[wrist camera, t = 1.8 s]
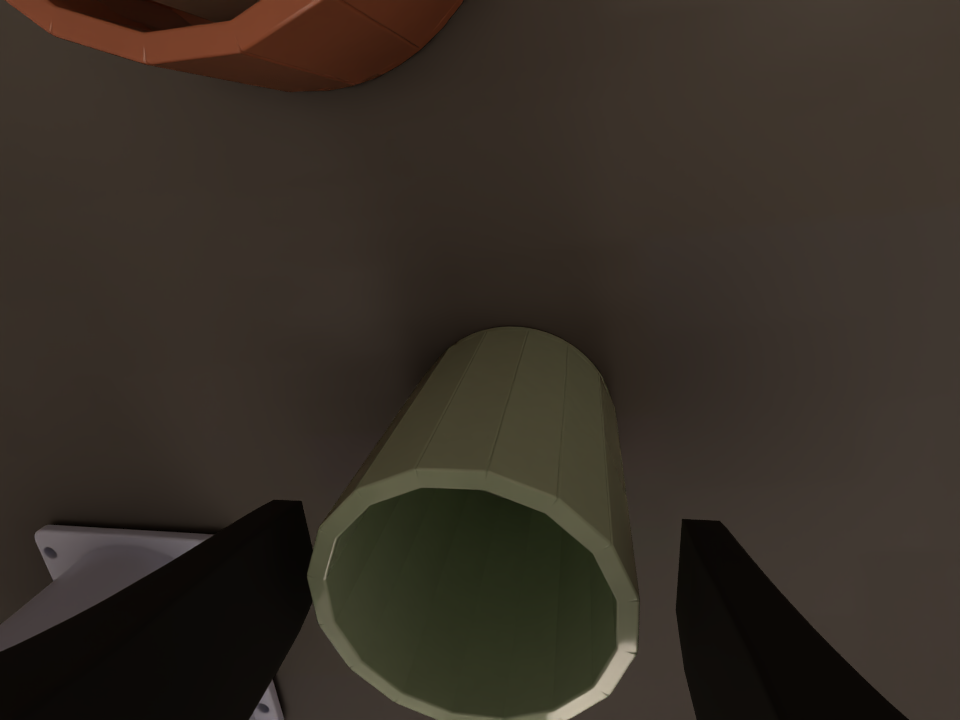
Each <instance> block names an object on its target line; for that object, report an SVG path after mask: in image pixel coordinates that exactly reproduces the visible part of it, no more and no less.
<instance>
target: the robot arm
mask: <svg viewBox="0 0 960 720" xmlns="http://www.w3.org/2000/svg"><path fill="white" fill-rule="evenodd" d="M35 541H36V544H37V546H38V548H39V550H40V553H41V555H42V557H43V559H44V561H45V564H46V566H47V568H48V570H49V573H50V575H51V577H52V579H53V582H52V583H51V584H49V585H48V586H47V587H46V588H45V589H43V590H42V591H41V592H40V593H38V594H37V595H36V596H35V597H34V598H32V599H31V600H30V601H29V602H27V603H26V604H25V605H24V606H23V607H21V608H20V609H19V610H18V611H16V612H15V613H14V614H13V615H12V616H10V617H9V618H8V619H7V620H5V621H4V622H3V623H2V624H1V625H0V720H284V717H283V713H282V710H281V706H280V703H279V699H278V696H277V693H276V689H275V686H274V682H273V678H274V676H275V674H276V673H277V671H278V669H279V667H280V666H281V664H282V662H283V660H284V659H285V657H286V655H287V653H288V651H289V650H290V648H291V646H292V644H293V643H294V641H295V639H296V637H297V635H298V634H299V632H300V629H301V627H302V625H303V623H304V620H305V618H306V616H307V613H308V611H309V609H310V606H311V604H312V596H311V592H310V588H309V584H308V580H307V571H308V567H309V563H310V560H311V556H312V552H313V549H312V545H311V540H310V536H309V531H308V527H307V523H306V518H305V514H304V510H303V505H302V501H289V500H273V501H271V502H269V503H267V504H265V505H263V506H261V507H259V508H258V509H256V510H254V511H252V512H251V513H249V514H247V515H246V516H244V517H242V518H241V519H239V520H237V521H236V522H234V523H232V524H231V525H229V526H228V527H226V528H224V529H223V530H221V531H219V532H218V533H216V534H198V533H181V532H164V531H148V530H131V529H114V528H97V527H81V526H64V525H45V526H44V527H42V528H41V529H39V530H38V531H37V532H36V533H35ZM676 615H677V622H678V630H679V637H680V644H681V651H682V657H683V664H684V670H685V675H686V679H687V683H688V687H689V691H690V695H691V699H692V703H693V707H694V711H695V715H696V719H697V720H909V719H908V718H906V717H905V716H904V715H903V714H902V713H901V712H900V711H898V710H897V709H896V708H895V707H894V706H893V705H892V704H890V703H889V702H888V701H887V700H886V699H885V698H884V697H883V696H882V695H881V694H880V693H879V692H878V691H877V690H875V689H874V688H873V687H872V686H871V685H870V684H869V683H868V682H867V681H866V680H865V679H864V678H863V677H862V676H861V675H860V674H859V673H858V672H857V671H856V670H855V669H854V668H853V667H852V666H851V665H850V664H849V663H848V662H847V661H846V660H845V659H844V658H843V657H842V656H841V655H840V654H839V653H838V652H837V651H836V650H835V649H834V648H833V647H832V646H831V645H830V644H829V643H828V642H827V641H826V640H825V639H824V638H823V637H822V636H821V635H820V634H819V633H818V632H817V631H816V630H815V629H814V628H813V627H812V626H811V625H810V624H809V622H808V621H807V620H806V619H805V618H804V617H803V616H802V615H801V614H800V613H799V612H798V610H797V609H796V608H795V607H794V606H793V605H792V604H791V603H790V602H789V601H788V600H787V599H786V597H785V596H784V595H783V594H782V593H781V592H780V591H779V590H778V589H777V587H776V586H775V585H774V584H773V583H772V582H771V581H770V579H769V578H768V577H767V576H766V575H765V574H764V572H763V571H762V570H761V569H760V568H759V567H758V565H757V564H756V563H755V562H754V561H753V560H752V558H751V557H750V556H749V555H748V554H747V552H746V551H745V550H744V549H743V547H742V546H741V545H740V544H739V543H738V541H737V540H736V539H735V538H734V536H733V535H732V534H731V533H730V532H729V530H728V529H727V528H726V527H725V526H724V525H723V524H722V523H721V522H720V521H712V520H691V519H682V528H681V542H680V557H679V571H678V586H677V600H676Z"/></svg>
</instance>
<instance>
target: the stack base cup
mask: <svg viewBox="0 0 960 720" xmlns="http://www.w3.org/2000/svg"><path fill="white" fill-rule="evenodd" d="M5 1H7V2H8V3H9V4H11V5H12V6H13V7H15V8H16V9H17V10H19V11H20V12H21V13H23V14H24V15H25V16H27V17H28V18H29V19H31V20H32V21H34V22H35V23H36V24H38V25H39V26H40V27H42V28H43V29H44V30H46V31H47V32H48V33H50V34H52V35H54V36H55V37H57V38H61V39H64V40H67V41H70V42H74V43H77V44H80V45H84V46H87V47H90V48H93V49H97V50H100V51H103V52H106V53H110V54H113V55H116V56H119V57H123V58H126V59H129V60H132V61H136V62H139V63H142V64H145V65H151V66H156V67H161V68H166V69H171V70H176V71H182V72H187V73H192V74H197V75H202V76H207V77H213V78H218V79H223V80H228V81H233V82H239V83H244V84H249V85H254V86H259V87H264V88H270V89H275V90H280V91H285V92H297V91H329V90H334V89H340V88H345V87H350V86H354V85H357V84H360V83H363V82H366V81H368V80H371V79H374V78H377V77H379V76H380V75H382V74H384V73H386V72H388V71H390V70H392V69H393V68H395V67H397V66H399V65H400V64H402V63H403V62H404V61H406V60H407V59H409V58H410V57H411V56H413V55H414V54H415V53H417V52H418V51H419V50H421V49H422V48H423V47H424V46H425V45H426V44H427V43H428V42H429V41H430V40H431V39H432V38H433V37H434V36H435V35H436V34H437V33H438V32H439V31H440V30H441V29H442V28H443V27H444V25H445V24H446V23H447V21H448V20H449V19H450V18H451V16H452V15H453V14H454V13H455V11H456V10H457V9H458V7H459V6H460V5H461V3H462V2H463V0H260V1H259V2H257V3H256V4H254V5H253V6H251V7H250V8H248V9H247V10H245V11H244V12H242V13H241V14H239V15H238V16H236V17H235V18H234V19H232V20H229V21H221V22H212V21H209V20H206V19H204V18H201V17H198V16H195V15H192V14H189V13H186V12H183V11H180V10H177V9H175V8H172V7H169V6H166V5H163V4H160V3H157V2H154V1H151V0H5Z"/></svg>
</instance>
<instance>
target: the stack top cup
mask: <svg viewBox="0 0 960 720" xmlns="http://www.w3.org/2000/svg"><path fill="white" fill-rule="evenodd" d="M151 1H154V2H157V3H160V4H163V5H166V6H169V7H172V8H175V9H177V10H180V11H183V12H186V13H189V14H192V15H195V16H198V17H201V18H204V19H206V20H209V21H212V22H221V21H229V20H232V19H234V18H235V17H236V16H238V15H239V14H241V13H242V12H244V11H245V10H247V9H248V8H250V7H251V6H253V5H254V4H256V3H257V2H259V1H260V0H151Z"/></svg>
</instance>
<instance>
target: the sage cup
mask: <svg viewBox="0 0 960 720" xmlns="http://www.w3.org/2000/svg"><path fill="white" fill-rule="evenodd" d="M307 580H308V584H309V588H310V592H311V596H312V601H313V605H314V609H315V613H316V618H317V622H318V623H319V626H320V628H321V629H322V631H323V632H324V633H325V635H326V636H327V638H328V639H329V640H330V642H331V643H332V645H333V646H334V647H335V649H336V650H337V652H338V653H339V655H340V656H341V657H342V659H343V660H344V662H345V663H346V664H347V666H348V667H350V669H351V670H352V671H354V672H355V673H356V674H358V675H359V676H360V677H361V678H363V679H364V680H365V681H367V682H368V683H369V684H371V685H372V686H373V687H375V688H376V689H377V690H379V691H380V692H381V693H383V694H384V695H385V696H387V697H388V698H389V699H390V700H392V701H393V702H395V701H396V703H397V704H399V705H402V706H404V707H407V708H409V709H412V710H414V711H417V712H419V713H421V714H424V715H426V716H429V717H431V718H434V719H436V720H569V719H571V718H573V717H575V716H576V715H578V714H580V713H581V712H583V711H585V710H587V709H588V708H590V707H592V706H593V705H595V704H597V703H599V702H600V701H602V700H604V699H605V698H607V697H608V696H609V695H611V693H612V692H613V690H614V689H615V687H616V686H617V684H618V683H619V681H620V679H621V678H622V676H623V675H624V673H625V672H626V670H627V669H628V667H629V666H630V664H631V663H632V661H633V660H634V658H635V656H636V655H637V652H638V641H639V615H640V597H639V589H638V581H637V573H636V566H635V558H634V550H633V542H632V535H631V527H630V519H629V511H628V504H627V496H626V488H625V480H624V473H623V465H622V457H621V449H620V442H619V434H618V426H617V419H616V411H615V407H614V405H613V402H612V399H611V395H610V393H609V390H608V387H607V385H606V383H605V381H604V379H603V377H602V376H601V374H600V372H599V371H598V370H597V368H596V367H595V366H594V364H593V363H592V362H591V361H590V360H589V359H588V358H587V357H586V356H585V355H584V354H583V353H582V352H580V351H579V350H578V349H577V348H575V347H574V346H573V345H571V344H569V343H568V342H566V341H564V340H563V339H561V338H559V337H556V336H554V335H552V334H550V333H546V332H543V331H540V330H536V329H531V328H525V327H510V326H508V327H496V328H491V329H486V330H482V331H479V332H476V333H474V334H471V335H469V336H467V337H465V338H463V339H461V340H459V341H458V342H456V343H455V344H454V345H452V346H451V347H449V348H448V349H447V350H446V351H445V352H444V353H443V354H442V355H441V356H440V357H439V358H438V360H437V361H436V362H435V363H434V365H433V366H432V367H431V368H430V369H429V370H428V371H427V372H426V374H425V375H424V377H423V378H422V379H421V381H420V382H419V384H418V385H417V387H416V388H415V390H414V391H413V392H412V394H411V395H410V397H409V398H408V400H407V401H406V402H405V404H404V405H403V407H402V408H401V410H400V411H399V413H398V414H397V415H396V417H395V418H394V420H393V421H392V423H391V424H390V426H389V427H388V428H387V430H386V431H385V433H384V434H383V436H382V437H381V438H380V440H379V441H378V443H377V444H376V446H375V447H374V449H373V450H372V451H371V453H370V454H369V456H368V457H367V459H366V460H365V462H364V463H363V464H362V466H361V467H360V469H359V470H358V472H357V473H356V475H355V476H354V477H353V479H352V480H351V482H350V483H349V485H348V486H347V487H346V489H345V490H344V492H343V493H342V495H341V496H340V498H339V499H338V500H337V502H336V503H335V505H334V506H333V508H332V509H331V511H330V512H329V513H328V515H327V516H326V518H325V519H324V521H323V522H322V523H321V525H320V527H319V529H318V532H317V536H316V540H315V544H314V548H313V552H312V556H311V560H310V563H309V567H308V571H307Z"/></svg>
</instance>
